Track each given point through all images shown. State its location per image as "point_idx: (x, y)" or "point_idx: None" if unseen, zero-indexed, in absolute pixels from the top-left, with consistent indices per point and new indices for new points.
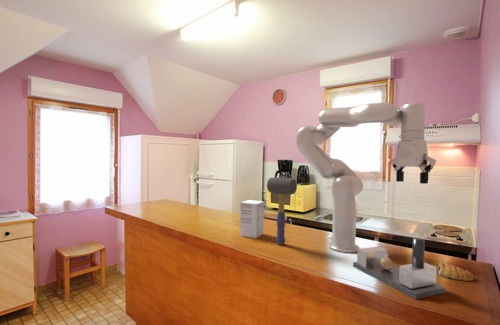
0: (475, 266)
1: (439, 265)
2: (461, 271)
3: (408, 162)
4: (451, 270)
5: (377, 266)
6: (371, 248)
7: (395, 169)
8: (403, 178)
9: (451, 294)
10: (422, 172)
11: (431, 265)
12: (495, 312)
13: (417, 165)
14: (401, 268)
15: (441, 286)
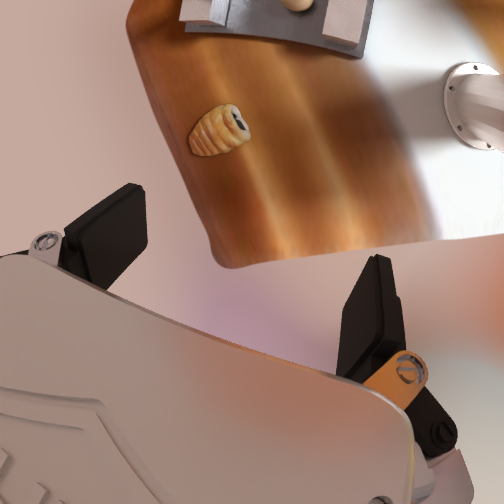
0: (227, 233)
1: (236, 121)
2: (199, 131)
3: (74, 344)
4: (210, 116)
5: (325, 3)
6: (355, 5)
7: (419, 378)
8: (342, 326)
9: (181, 36)
10: (67, 237)
11: (188, 17)
12: (130, 44)
13: (16, 255)
14: None
15: (189, 28)
